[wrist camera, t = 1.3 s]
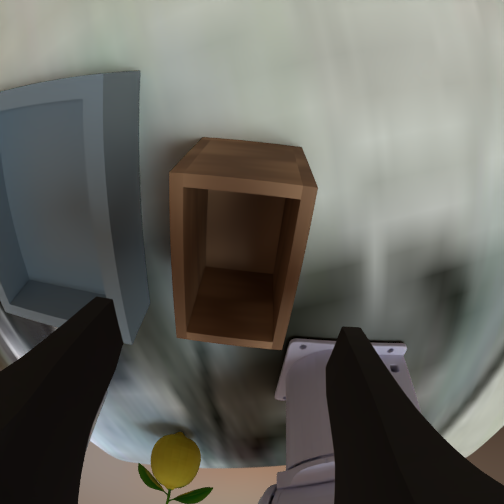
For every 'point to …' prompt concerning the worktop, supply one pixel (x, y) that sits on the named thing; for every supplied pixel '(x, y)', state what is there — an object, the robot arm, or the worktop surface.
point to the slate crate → (72, 199)
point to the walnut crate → (238, 239)
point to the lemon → (175, 467)
